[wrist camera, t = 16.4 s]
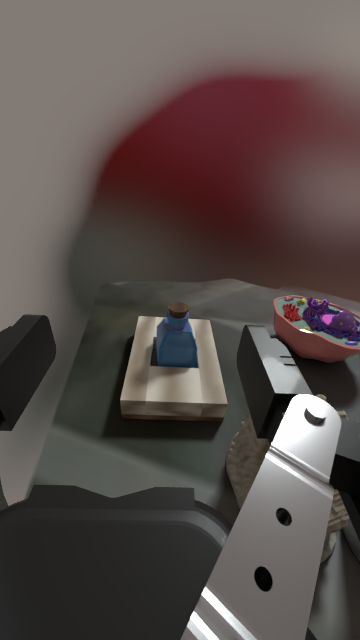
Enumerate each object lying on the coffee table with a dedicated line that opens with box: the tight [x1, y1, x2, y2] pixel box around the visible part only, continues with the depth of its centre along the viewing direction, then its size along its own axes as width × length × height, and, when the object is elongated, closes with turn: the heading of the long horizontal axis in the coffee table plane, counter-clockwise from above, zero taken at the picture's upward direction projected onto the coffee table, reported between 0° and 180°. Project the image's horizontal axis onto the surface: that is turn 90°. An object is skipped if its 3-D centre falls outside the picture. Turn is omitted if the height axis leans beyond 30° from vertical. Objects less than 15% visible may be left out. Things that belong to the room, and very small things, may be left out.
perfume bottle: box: [156, 302, 197, 368], centre depth 43 cm, size 6×6×12 cm
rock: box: [226, 394, 349, 563], centre depth 28 cm, size 16×16×15 cm
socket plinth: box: [120, 316, 227, 422], centre depth 46 cm, size 15×22×4 cm
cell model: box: [274, 296, 360, 363], centre depth 52 cm, size 17×20×11 cm
